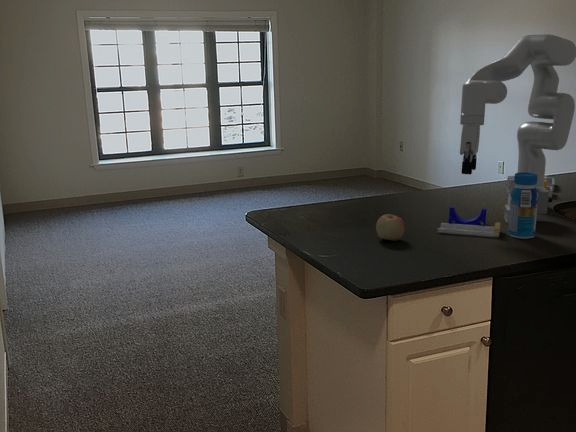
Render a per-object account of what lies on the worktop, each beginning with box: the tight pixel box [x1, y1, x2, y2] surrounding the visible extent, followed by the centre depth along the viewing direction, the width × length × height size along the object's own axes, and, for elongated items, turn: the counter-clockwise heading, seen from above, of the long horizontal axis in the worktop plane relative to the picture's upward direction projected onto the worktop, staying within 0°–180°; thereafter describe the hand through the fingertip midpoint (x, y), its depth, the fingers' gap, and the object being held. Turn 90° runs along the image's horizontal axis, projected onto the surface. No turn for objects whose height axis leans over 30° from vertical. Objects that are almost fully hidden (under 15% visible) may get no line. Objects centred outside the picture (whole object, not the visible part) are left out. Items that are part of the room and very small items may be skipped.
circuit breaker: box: [503, 175, 553, 224], centre depth 218 cm, size 8×14×15 cm, turn 78°
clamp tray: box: [506, 186, 553, 199], centre depth 257 cm, size 9×17×3 cm, turn 69°
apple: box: [375, 213, 406, 242], centre depth 200 cm, size 9×9×8 cm
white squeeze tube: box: [437, 221, 502, 239], centre depth 207 cm, size 8×19×3 cm, turn 69°
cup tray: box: [546, 176, 555, 192], centre depth 271 cm, size 15×15×3 cm
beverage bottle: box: [507, 172, 538, 240], centre depth 200 cm, size 8×8×20 cm
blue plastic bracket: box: [448, 205, 487, 226], centre depth 216 cm, size 12×4×6 cm, turn 71°
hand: (468, 171), depth 212 cm, fingers open, 9 cm apart
